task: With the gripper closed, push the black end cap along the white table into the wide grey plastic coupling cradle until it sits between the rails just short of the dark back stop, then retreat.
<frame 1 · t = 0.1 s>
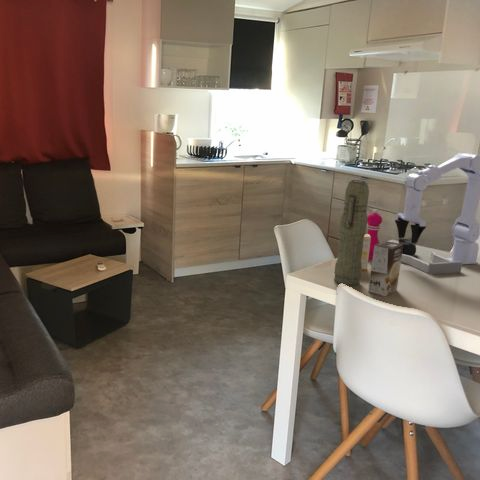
hand: (407, 240, 208), 10 cm above the table, tool pointing down, fingers open, 7 cm apart
coffee box: (382, 291, 180), on the table
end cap: (405, 256, 225), on the table
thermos: (346, 282, 187), on the table
pepper mill: (369, 258, 218), on the table
cream bottle: (355, 268, 203), on the table
cradle: (432, 267, 210), on the table
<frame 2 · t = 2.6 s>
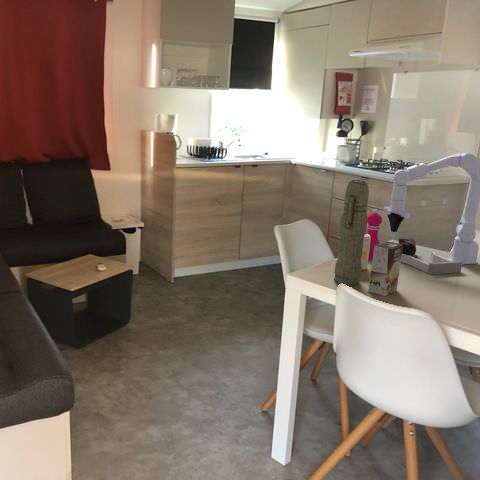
hand: (393, 231, 224), 9 cm above the table, tool pointing down, fingers closed
nothing on the table moved.
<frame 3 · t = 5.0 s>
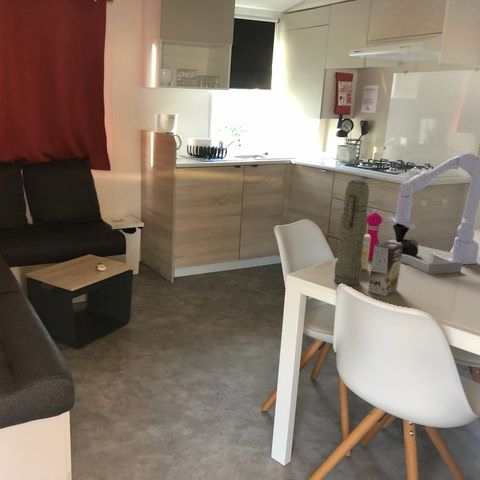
hand: (399, 242, 228), 4 cm above the table, tool pointing down, fingers closed
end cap: (407, 257, 223), on the table, touching gripper
everything else where it was.
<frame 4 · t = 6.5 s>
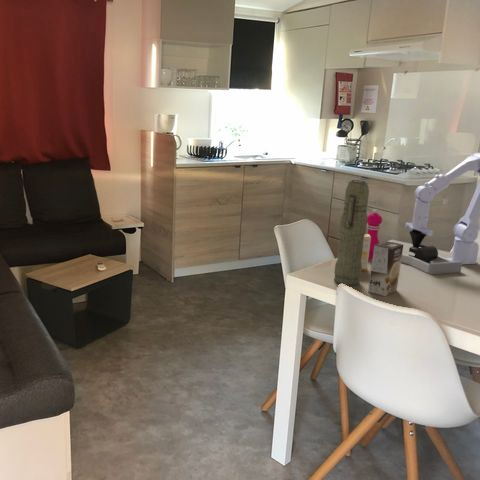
hand: (415, 248, 219), 4 cm above the table, tool pointing down, fingers closed
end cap: (421, 263, 215), resting in cradle, touching gripper
everything else where it was.
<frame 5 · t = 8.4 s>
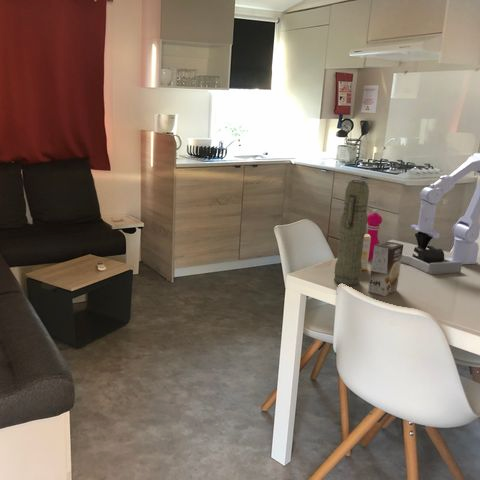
hand: (421, 251, 216), 4 cm above the table, tool pointing down, fingers closed
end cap: (425, 264, 213), resting in cradle, touching gripper
everything else where it was.
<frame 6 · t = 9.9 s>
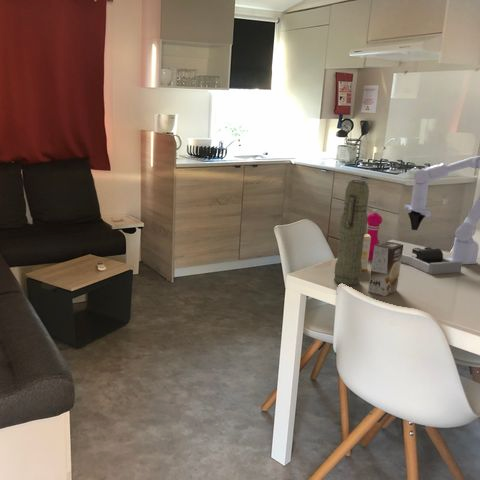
hand: (414, 229, 228), 10 cm above the table, tool pointing down, fingers closed
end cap: (425, 265, 213), resting in cradle
everything else where it was.
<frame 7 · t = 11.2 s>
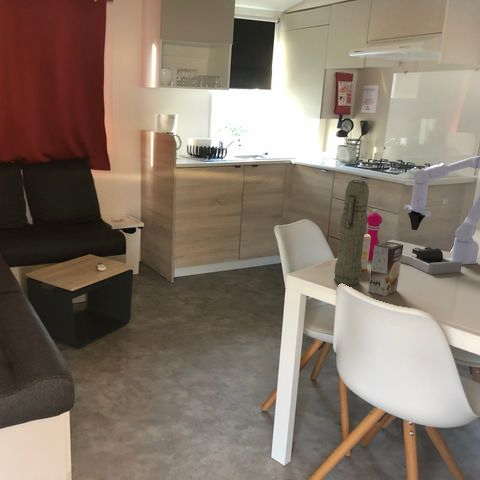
hand: (414, 229, 228), 10 cm above the table, tool pointing down, fingers closed
nothing on the table moved.
at the end: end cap inside the target area on the cradle (2.5 cm from its centre), point 0.0 cm above the cradle's base; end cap tilted 0°; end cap moved 12.8 cm from its start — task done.
